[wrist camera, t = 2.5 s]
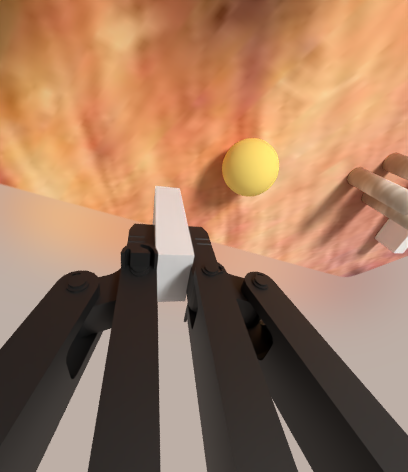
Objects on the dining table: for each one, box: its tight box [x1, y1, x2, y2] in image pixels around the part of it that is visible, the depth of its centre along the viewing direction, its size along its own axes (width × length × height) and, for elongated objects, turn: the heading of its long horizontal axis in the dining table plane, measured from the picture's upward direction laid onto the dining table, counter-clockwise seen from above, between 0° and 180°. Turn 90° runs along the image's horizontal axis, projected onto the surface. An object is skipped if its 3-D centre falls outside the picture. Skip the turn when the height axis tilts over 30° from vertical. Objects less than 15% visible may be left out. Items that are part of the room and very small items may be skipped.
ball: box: [222, 138, 279, 196], centre depth 24 cm, size 6×6×6 cm
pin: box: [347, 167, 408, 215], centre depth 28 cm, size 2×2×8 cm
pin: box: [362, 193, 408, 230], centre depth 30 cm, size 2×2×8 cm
